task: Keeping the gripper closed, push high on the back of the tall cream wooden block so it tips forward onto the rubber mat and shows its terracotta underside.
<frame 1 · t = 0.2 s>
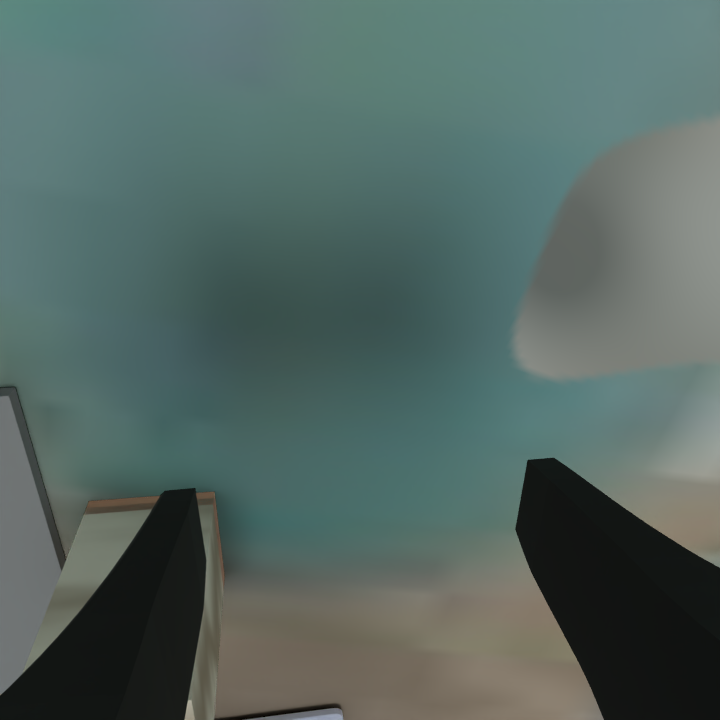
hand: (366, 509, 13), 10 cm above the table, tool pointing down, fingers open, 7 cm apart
block: (160, 541, 25), on the table
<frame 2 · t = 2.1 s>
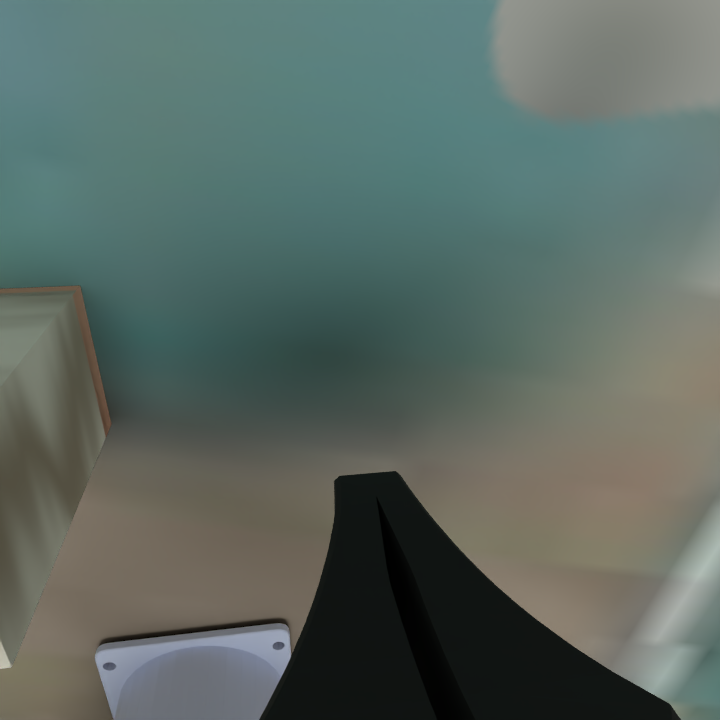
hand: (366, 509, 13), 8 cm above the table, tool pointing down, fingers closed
block: (13, 363, 18), on the table
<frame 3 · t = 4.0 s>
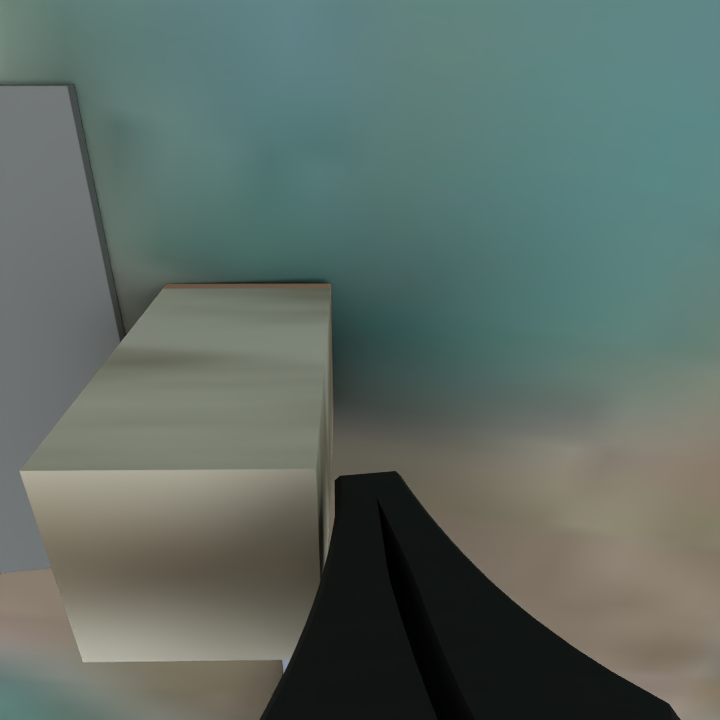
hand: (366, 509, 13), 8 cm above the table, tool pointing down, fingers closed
block: (255, 356, 19), on the table, tilted 7°, touching gripper
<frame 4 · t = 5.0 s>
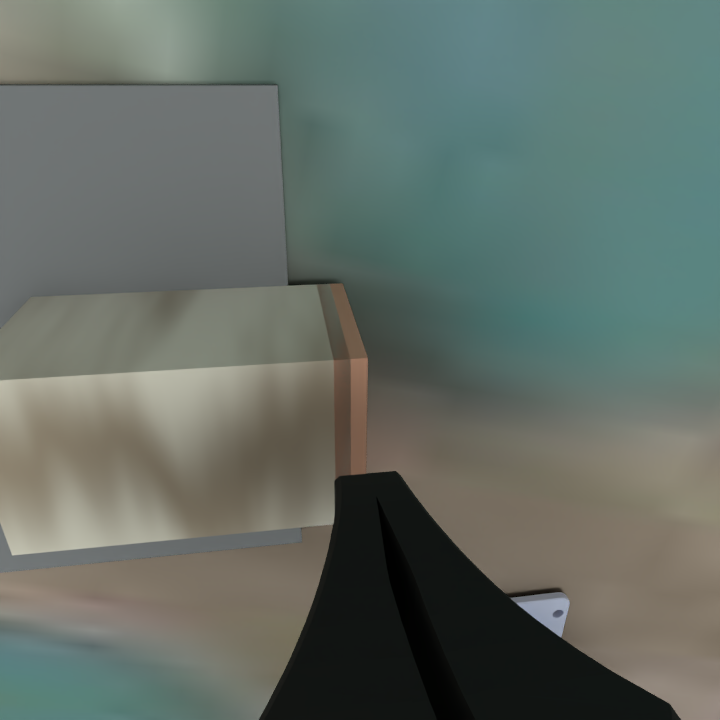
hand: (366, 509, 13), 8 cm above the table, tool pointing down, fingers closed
block: (353, 395, 17), point 3 cm above the table, tilted 90°, touching mat
mat: (68, 363, 19), on the table
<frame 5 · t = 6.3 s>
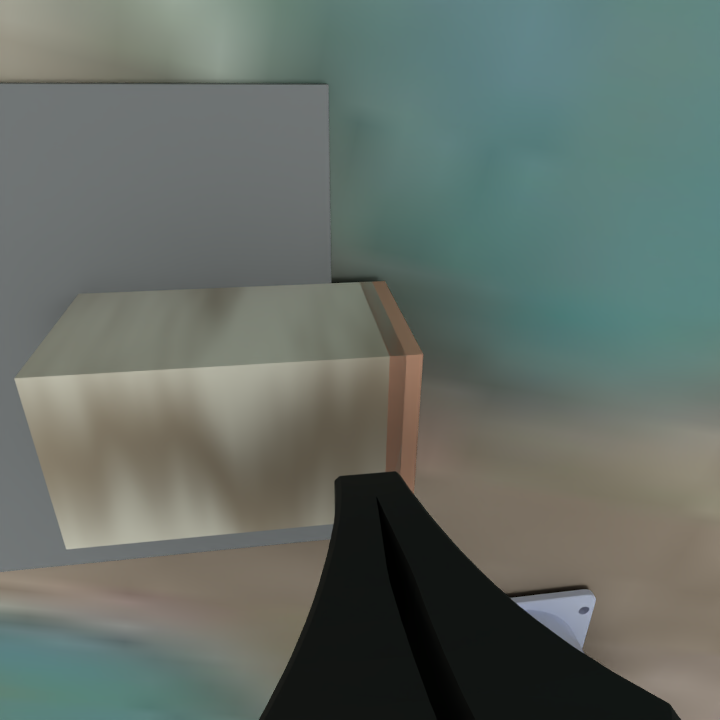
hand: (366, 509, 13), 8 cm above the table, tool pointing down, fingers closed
block: (397, 391, 17), point 3 cm above the table, tilted 90°, touching mat
mat: (111, 360, 19), on the table
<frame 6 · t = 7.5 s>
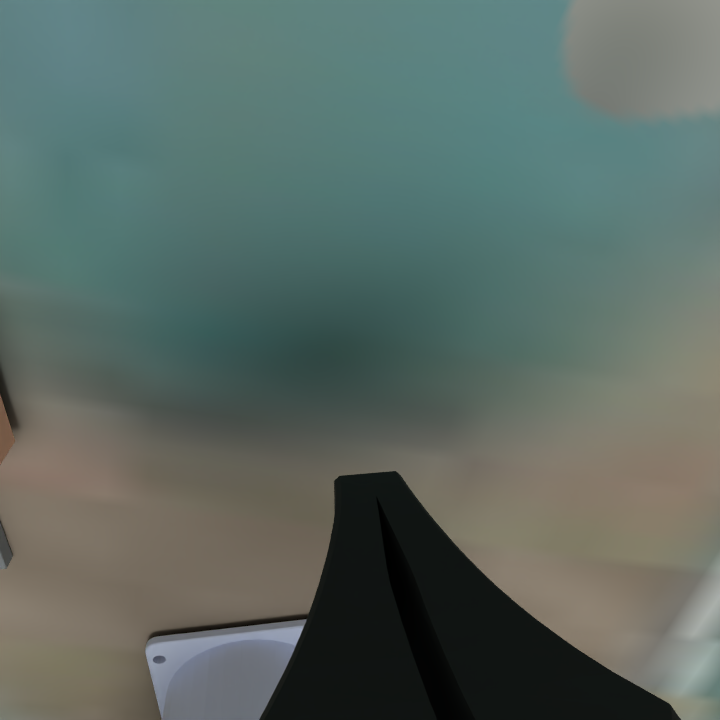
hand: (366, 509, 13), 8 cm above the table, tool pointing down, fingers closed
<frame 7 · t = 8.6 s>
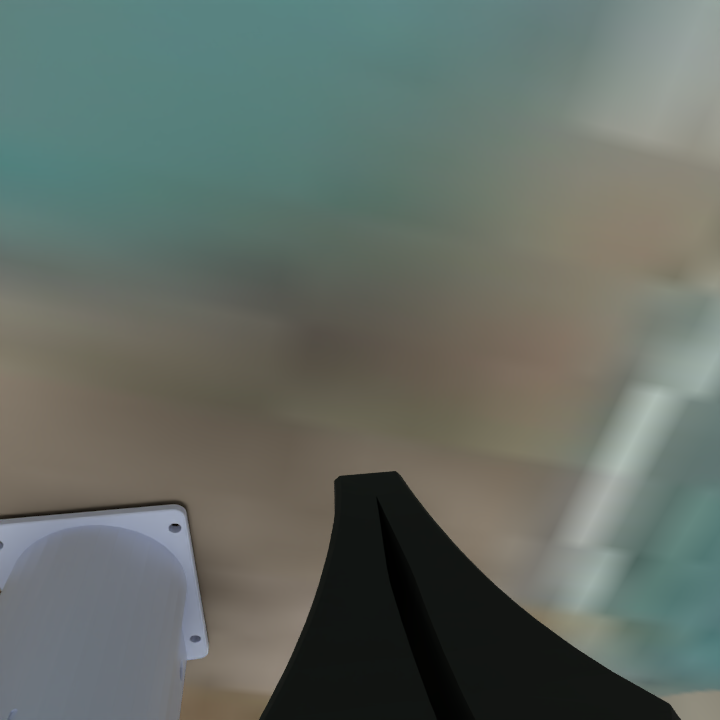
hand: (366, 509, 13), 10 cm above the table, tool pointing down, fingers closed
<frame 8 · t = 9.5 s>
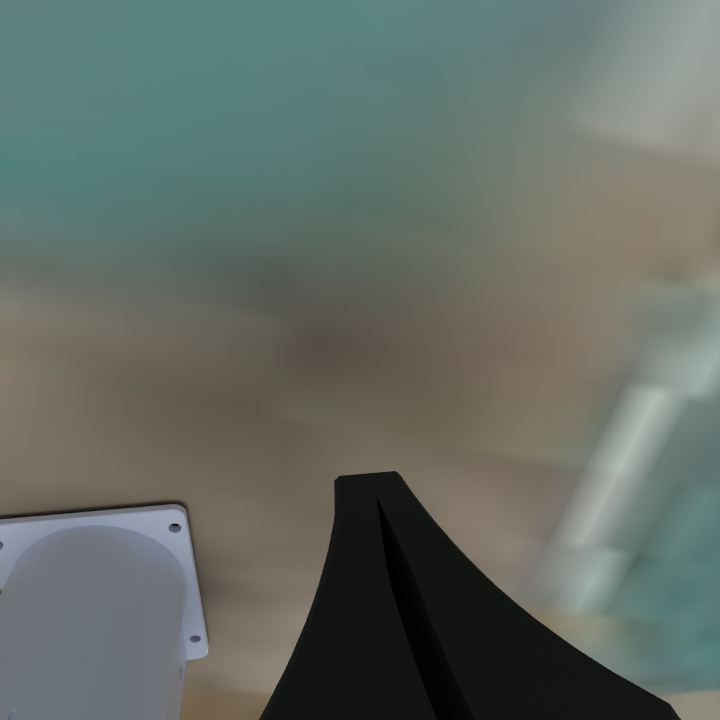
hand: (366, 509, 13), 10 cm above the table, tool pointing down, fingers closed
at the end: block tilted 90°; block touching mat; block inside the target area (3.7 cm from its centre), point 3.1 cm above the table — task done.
